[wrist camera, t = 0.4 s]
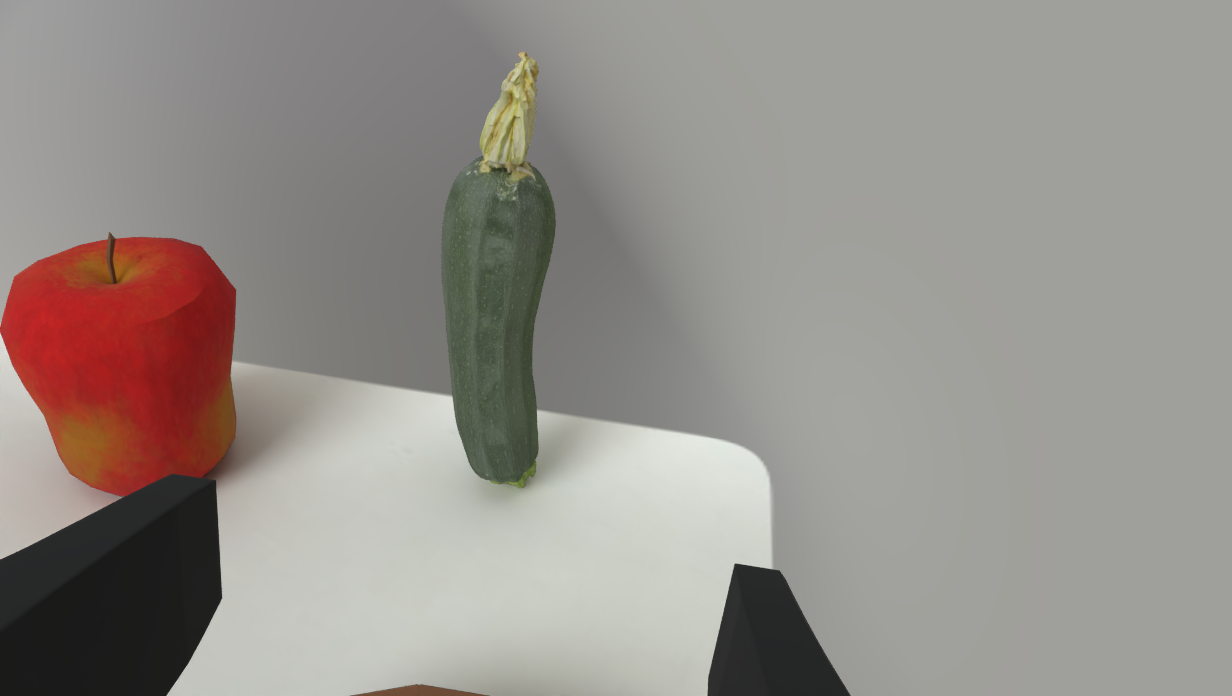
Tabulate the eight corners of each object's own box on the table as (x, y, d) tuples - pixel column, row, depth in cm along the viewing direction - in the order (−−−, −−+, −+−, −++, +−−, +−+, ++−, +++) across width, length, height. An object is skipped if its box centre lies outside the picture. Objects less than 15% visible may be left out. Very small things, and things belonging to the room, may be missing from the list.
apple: (216, 386, 48) (181, 171, 41) (287, 479, 43) (259, 251, 36) (27, 446, 43) (-48, 212, 36) (82, 559, 38) (6, 311, 31)
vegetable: (478, 531, 41) (489, 87, 30) (423, 478, 44) (414, 49, 33) (555, 490, 44) (591, 68, 33) (499, 442, 47) (515, 34, 35)
